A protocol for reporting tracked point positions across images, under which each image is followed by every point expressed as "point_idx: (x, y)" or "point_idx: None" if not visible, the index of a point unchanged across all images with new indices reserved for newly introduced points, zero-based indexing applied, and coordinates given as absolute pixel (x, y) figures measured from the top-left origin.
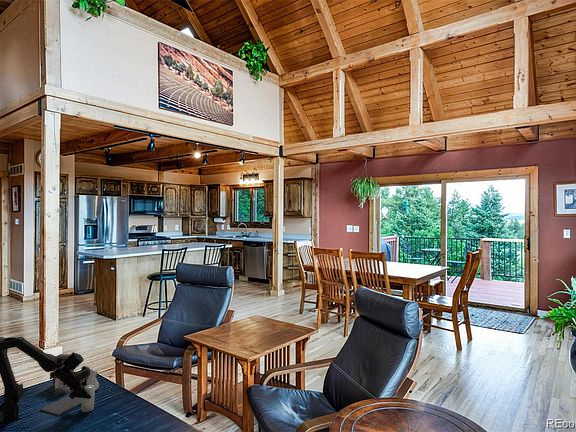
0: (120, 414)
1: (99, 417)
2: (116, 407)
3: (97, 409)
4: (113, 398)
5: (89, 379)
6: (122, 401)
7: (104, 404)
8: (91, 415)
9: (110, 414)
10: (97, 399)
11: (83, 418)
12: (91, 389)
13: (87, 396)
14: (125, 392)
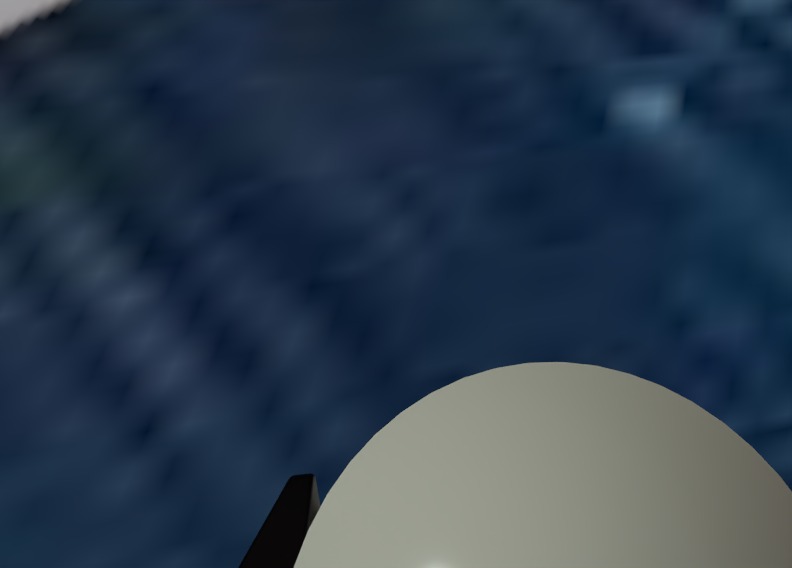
0: (678, 53)
1: (727, 281)
2: (476, 111)
3: (475, 349)
4: (161, 177)
5: None
6: (312, 59)
7: (330, 274)
8: None
9: (662, 159)
10: (91, 414)
11: None
12: (730, 458)
13: None
14: (15, 44)
